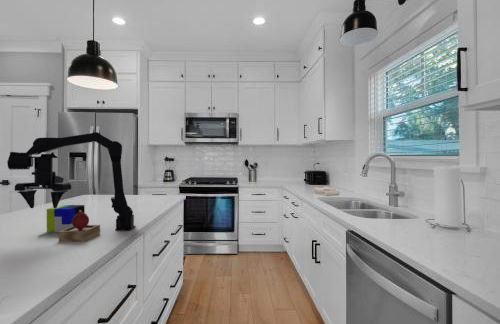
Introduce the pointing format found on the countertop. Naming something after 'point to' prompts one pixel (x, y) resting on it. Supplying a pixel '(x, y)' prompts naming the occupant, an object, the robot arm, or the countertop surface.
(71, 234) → the wooden tray
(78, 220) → the onion
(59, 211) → the puzzle toy
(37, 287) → the countertop surface
